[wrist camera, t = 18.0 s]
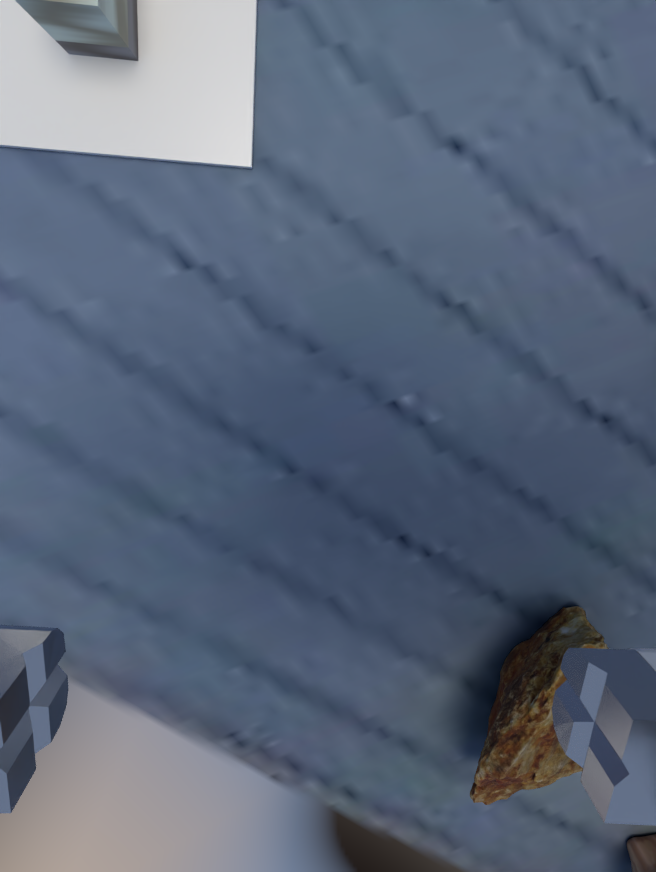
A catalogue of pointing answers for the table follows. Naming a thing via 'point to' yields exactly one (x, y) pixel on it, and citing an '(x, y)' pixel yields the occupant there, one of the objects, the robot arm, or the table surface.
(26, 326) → the table surface
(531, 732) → the rock
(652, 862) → the cupcake
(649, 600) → the table surface
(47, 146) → the white board
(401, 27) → the table surface
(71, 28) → the box
